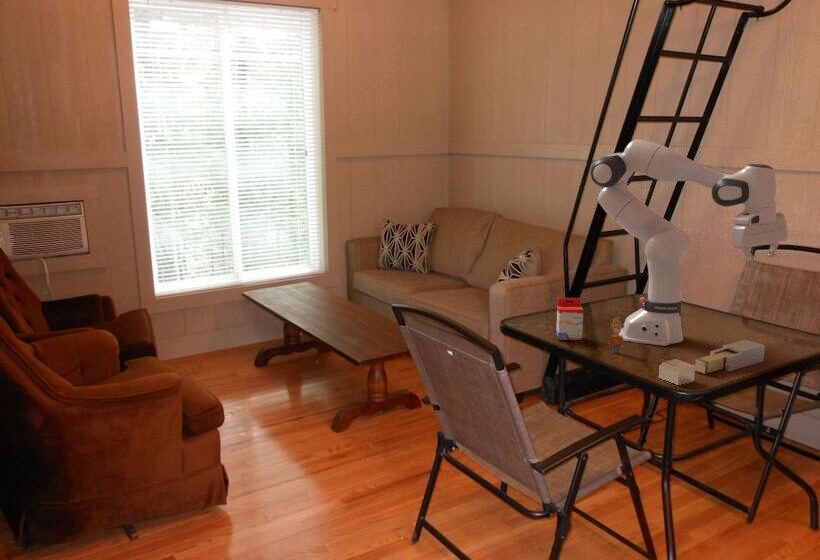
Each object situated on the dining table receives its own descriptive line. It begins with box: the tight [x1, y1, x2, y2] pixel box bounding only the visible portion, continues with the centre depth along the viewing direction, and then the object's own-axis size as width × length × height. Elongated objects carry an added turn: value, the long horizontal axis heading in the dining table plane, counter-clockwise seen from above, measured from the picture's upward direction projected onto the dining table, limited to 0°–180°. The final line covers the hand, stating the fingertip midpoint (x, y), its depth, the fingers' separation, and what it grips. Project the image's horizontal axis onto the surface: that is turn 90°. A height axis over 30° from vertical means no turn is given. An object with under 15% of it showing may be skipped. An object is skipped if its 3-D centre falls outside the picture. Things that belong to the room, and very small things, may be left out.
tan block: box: [694, 350, 738, 375], centre depth 210 cm, size 22×4×4 cm, turn 119°
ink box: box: [555, 297, 584, 339], centre depth 240 cm, size 8×5×15 cm, turn 88°
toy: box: [607, 316, 625, 354], centre depth 224 cm, size 5×3×13 cm, turn 59°
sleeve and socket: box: [658, 339, 766, 386], centre depth 208 cm, size 40×7×5 cm, turn 119°
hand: (760, 258), depth 214 cm, fingers open, 8 cm apart
